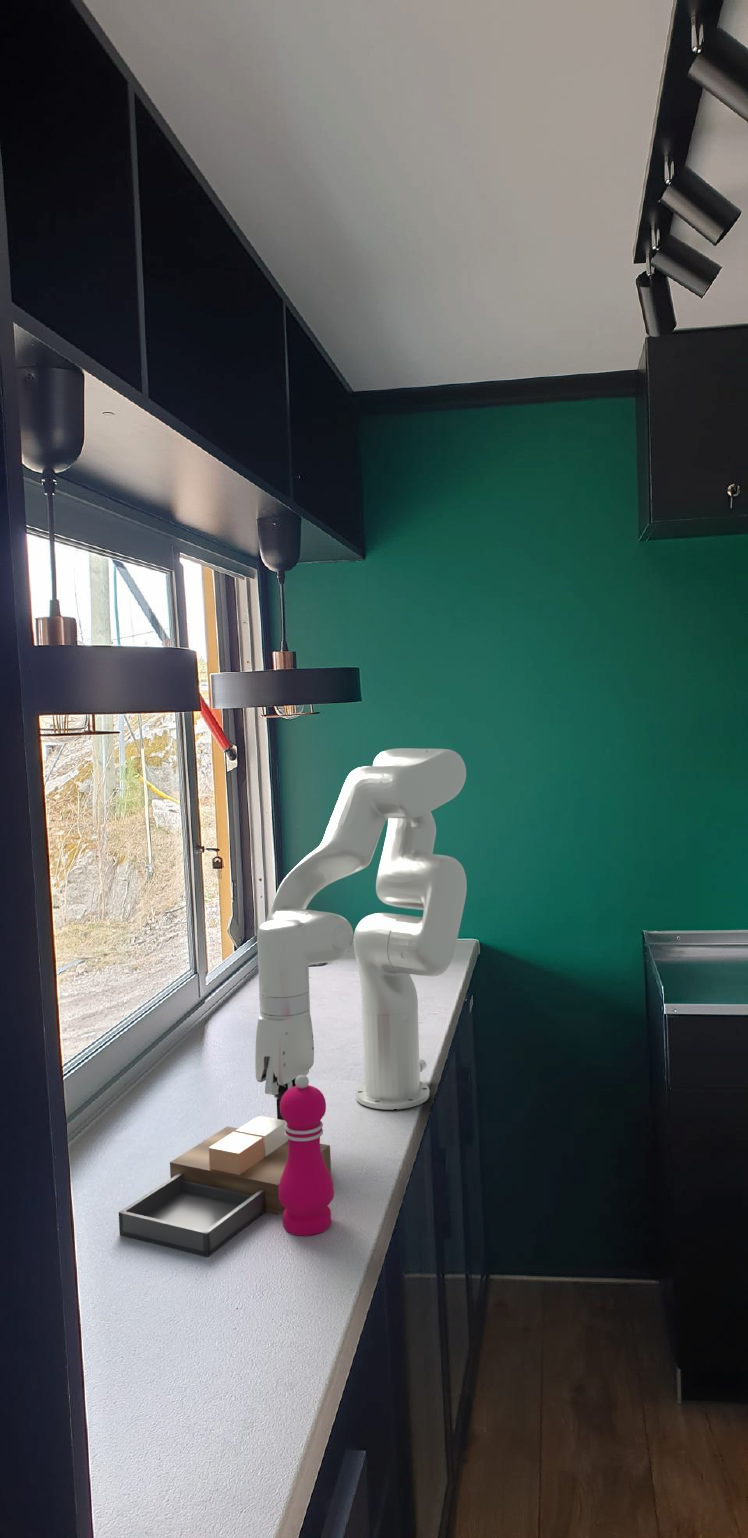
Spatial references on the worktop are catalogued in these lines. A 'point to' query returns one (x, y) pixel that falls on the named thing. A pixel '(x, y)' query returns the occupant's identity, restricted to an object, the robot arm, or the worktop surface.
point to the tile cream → (266, 1132)
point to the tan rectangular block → (236, 1153)
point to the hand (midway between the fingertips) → (289, 1122)
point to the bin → (190, 1215)
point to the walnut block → (248, 1182)
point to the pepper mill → (305, 1162)
